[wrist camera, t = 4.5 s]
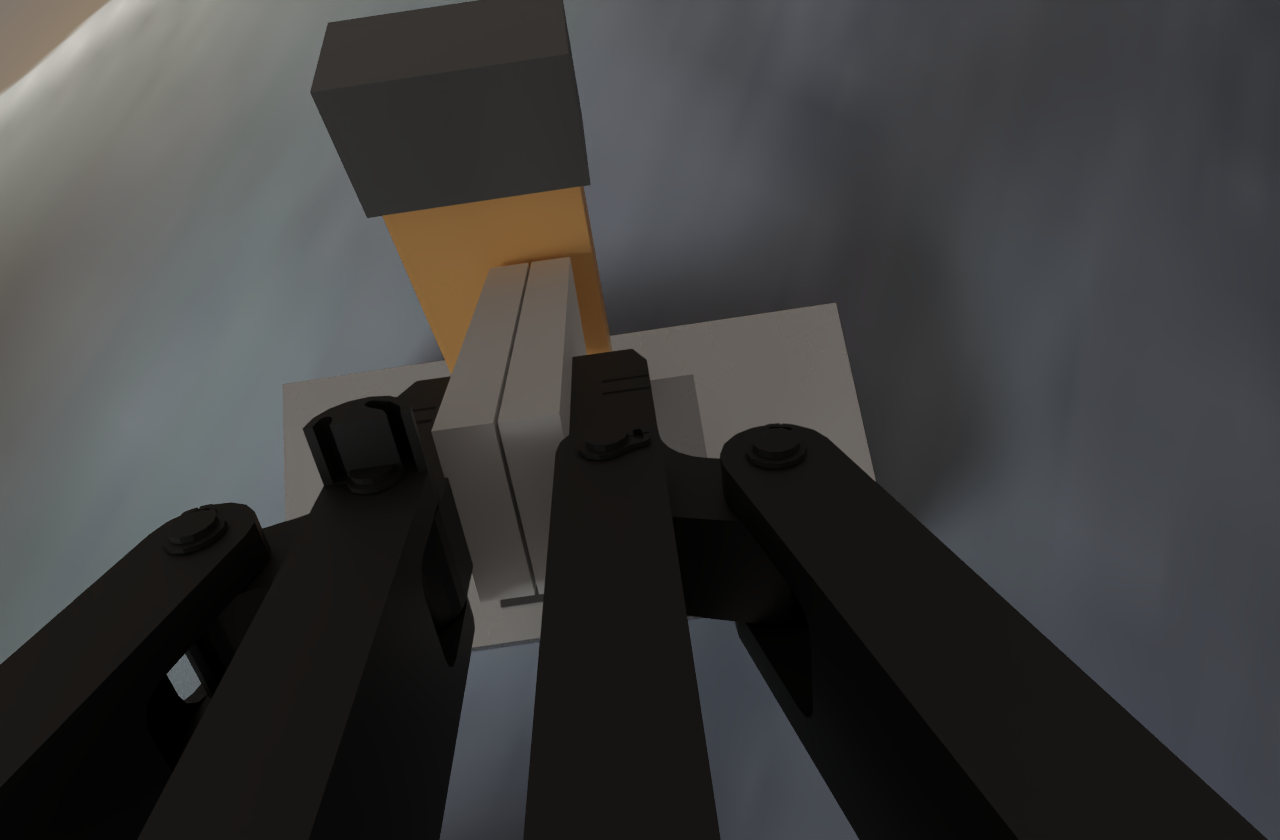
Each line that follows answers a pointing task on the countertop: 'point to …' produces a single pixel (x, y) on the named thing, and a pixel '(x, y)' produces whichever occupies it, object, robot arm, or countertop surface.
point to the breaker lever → (465, 148)
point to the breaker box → (683, 400)
